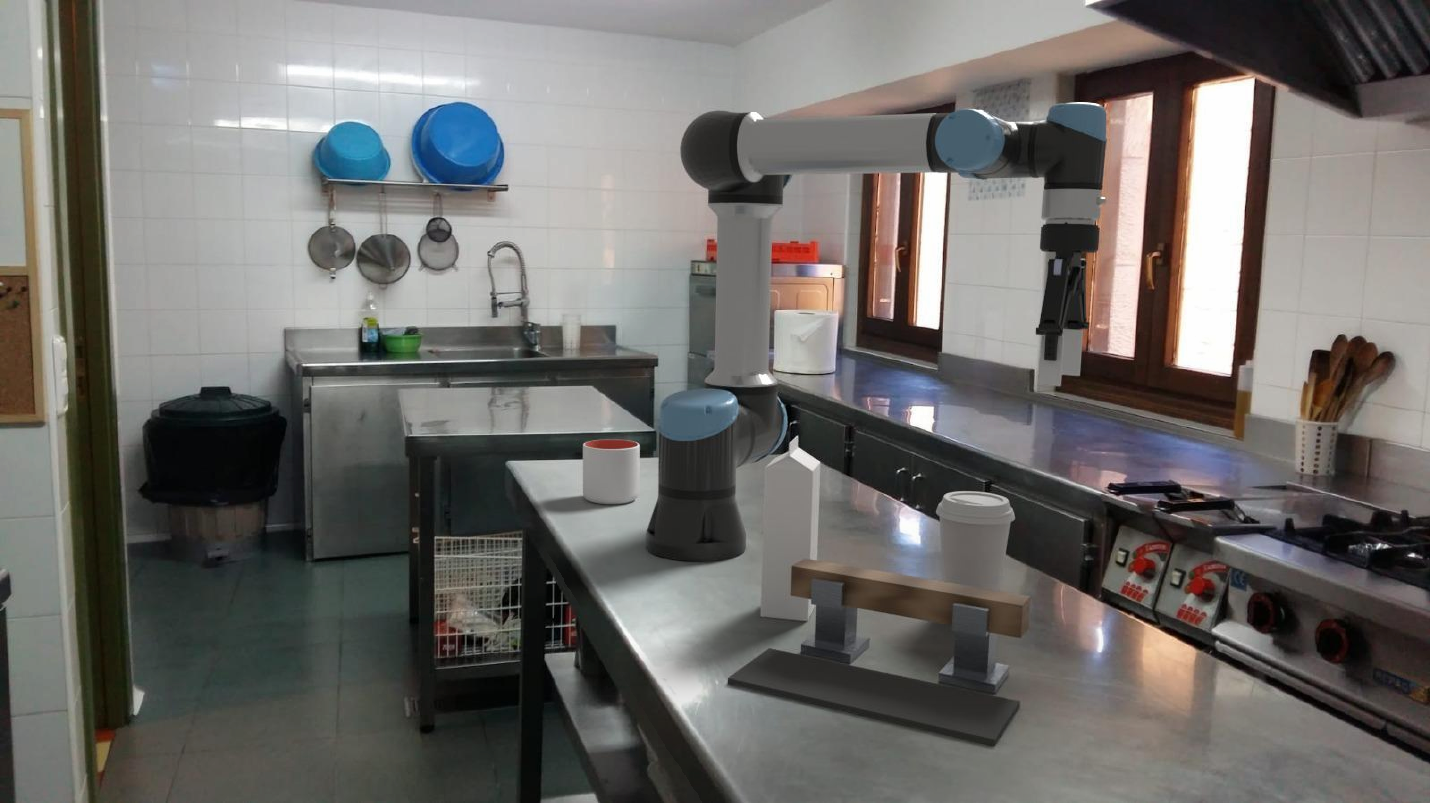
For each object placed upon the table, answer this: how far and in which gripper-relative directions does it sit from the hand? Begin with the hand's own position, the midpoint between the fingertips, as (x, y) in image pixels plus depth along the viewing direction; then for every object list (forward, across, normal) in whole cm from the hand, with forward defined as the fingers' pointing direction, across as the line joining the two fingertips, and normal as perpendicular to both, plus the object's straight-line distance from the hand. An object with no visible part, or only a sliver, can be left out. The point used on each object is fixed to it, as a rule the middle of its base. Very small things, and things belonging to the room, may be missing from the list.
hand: (1060, 380), depth 150 cm
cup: (+28, +6, +77) cm, 82 cm away
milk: (+28, -32, +25) cm, 50 cm away
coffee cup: (+28, -21, +5) cm, 36 cm away
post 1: (+28, -41, +15) cm, 52 cm away
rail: (+22, -41, +7) cm, 47 cm away
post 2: (+28, -41, -1) cm, 50 cm away
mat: (+28, -51, +7) cm, 59 cm away
